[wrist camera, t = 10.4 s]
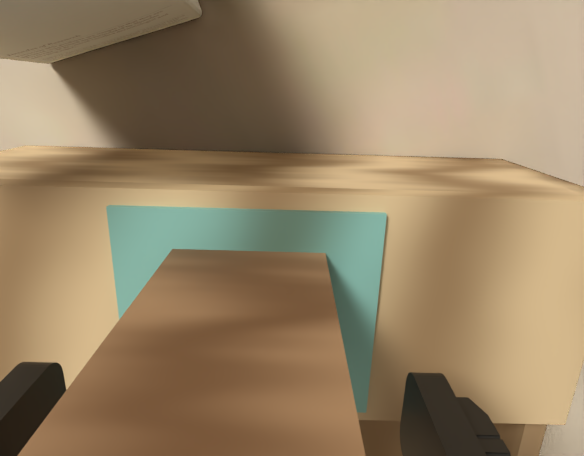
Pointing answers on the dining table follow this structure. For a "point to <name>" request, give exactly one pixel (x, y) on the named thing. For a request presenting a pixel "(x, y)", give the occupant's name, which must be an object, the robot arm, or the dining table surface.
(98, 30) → the supplement box
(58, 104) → the dining table surface
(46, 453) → the block
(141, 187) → the crate
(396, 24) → the dining table surface
